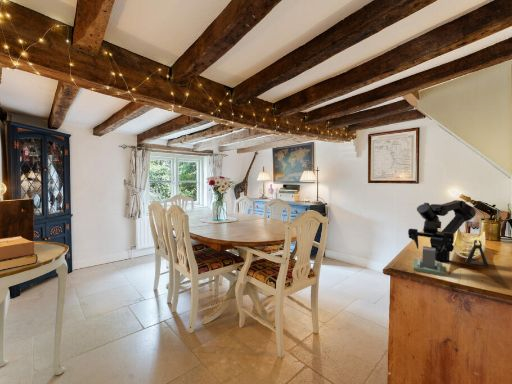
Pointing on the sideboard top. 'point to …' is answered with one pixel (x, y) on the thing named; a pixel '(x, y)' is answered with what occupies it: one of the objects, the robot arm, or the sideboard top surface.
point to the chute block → (428, 257)
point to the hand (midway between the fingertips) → (428, 250)
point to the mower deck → (437, 270)
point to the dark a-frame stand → (471, 253)
